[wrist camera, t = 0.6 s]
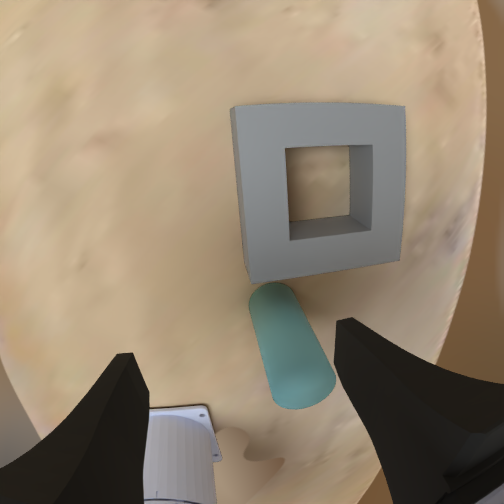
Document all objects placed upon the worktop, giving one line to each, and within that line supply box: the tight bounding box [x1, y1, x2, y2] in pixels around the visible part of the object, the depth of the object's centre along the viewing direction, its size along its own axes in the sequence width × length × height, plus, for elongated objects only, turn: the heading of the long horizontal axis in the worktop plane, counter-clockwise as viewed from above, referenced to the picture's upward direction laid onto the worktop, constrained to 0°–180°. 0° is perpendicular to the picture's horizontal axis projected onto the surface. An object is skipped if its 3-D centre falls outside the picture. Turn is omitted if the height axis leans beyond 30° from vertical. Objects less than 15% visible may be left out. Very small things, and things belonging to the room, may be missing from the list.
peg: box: [249, 283, 336, 409], centre depth 18 cm, size 3×3×8 cm
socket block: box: [230, 103, 406, 284], centre depth 17 cm, size 9×9×3 cm
